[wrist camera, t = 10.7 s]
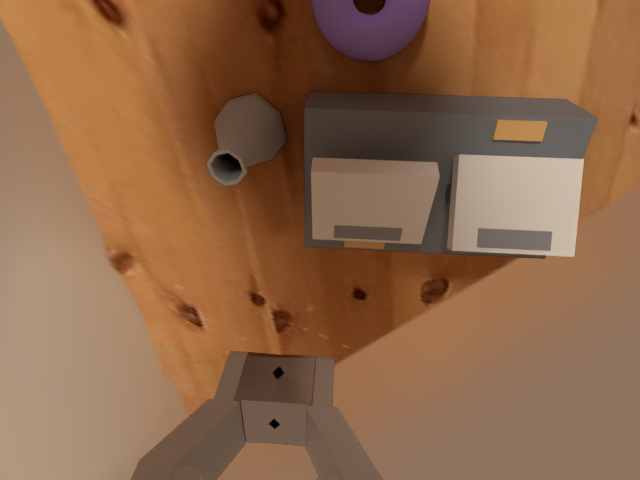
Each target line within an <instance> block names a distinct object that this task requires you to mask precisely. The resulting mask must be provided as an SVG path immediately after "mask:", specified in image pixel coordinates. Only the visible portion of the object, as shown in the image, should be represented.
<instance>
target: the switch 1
mask: <svg viewBox="0 0 640 480" xmlns="http://www.w3.org/2000/svg"><path fill="white" fill-rule="evenodd" d="M439 178H440V175H439V170H438V164H437V162H417V161H392V160H366V159H340V158H315V157H313V159H312V167H311V195H312V237H313V239H321V240H342V241H363V242H383V243H404V244H421V243H422V240H423V236H424V232H425V229H426V225H427V222H428V218H429V214H430V211H431V207H432V203H433V200H434V196H435V193H436V189H437V185H438V182H439Z"/></svg>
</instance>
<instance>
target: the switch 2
mask: <svg viewBox="0 0 640 480" xmlns="http://www.w3.org/2000/svg"><path fill="white" fill-rule="evenodd" d="M583 165H584V159H569V158H542V157H516V156H490V155H464V154H459V155H456V156H454V157H453V170H452V184H451V198H450V211H449V225H448V239H447V249H449V250H452V251H467V252H488V253H508V254H529V255H549V256H571V257H574V253H575V244H576V234H577V224H578V214H579V204H580V194H581V184H582V175H583Z"/></svg>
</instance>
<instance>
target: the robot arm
mask: <svg viewBox="0 0 640 480" xmlns="http://www.w3.org/2000/svg"><path fill="white" fill-rule="evenodd" d="M333 382H334V357H319V356H317V358H316V356H305V355H285V354H283V355H277V354H266V353H255V352H241V351H231V352H230V354H229V355H228V358H227V361H226V364H225V367H224V370H223V373H222V376H221V379H220V382H219V385H218V388H217V391H216V395H215V398H214V399H208V400H207V401H206V402H205V403H204V404H202V405H201V406H200V407H199V408H198V409H197V410H196V411H194V412H193V413H192V414H191V415H190V416H189V417H188V418H187V419H185V420H184V421H183V422H182V423H181V424H180V425H179V426H177V428H175V429H174V430H173V431H172V432H171V433H170V434H168V435H167V436H166V437H165V438H164V439H163V440H162V441H160V442H159V443H158V444H157V445H156V446H155V447H154V448H153V449H151V450H150V451H149V452H148V453H147V454H146V455H145V456H143V457H142V458H141V459H140V460H139V462H138V465H137V467H136V469H135V471H134V473H133V476H132V478H131V480H217V479H218V477H219V476H220V475H221V474H222V473H223V471H224V470H225V469H226V468H227V466H228V465H229V464H230V463H231V461H232V460H233V459H234V458H235V457H236V455H237V454H238V453H239V452H240V450H241V449H242V448H243V447H244V445H245V442H249V443H250V442H251V443H274V444H275V443H276V444H284V445H295V446H304V447H306V450H307V452H308V454H309V456H310V458H311V461H312V463H313V465H314V467H315V469H316V472H317V474H318V476H319V477H318V478H317V479H316V480H383V479H382V477H381V476H380V474H379V472H378V471H377V469H376V468H375V466H374V464H373V463H372V461H371V460H370V458H369V457H368V455H367V453H366V452H365V450H364V449H363V447H362V446H361V444H360V442H359V441H358V439H357V438H356V436H355V435H354V433H353V431H352V430H351V428H350V427H349V425H348V423H347V422H346V420H345V419H344V417H343V415H342V414H341V412H340V411H339V409H338V408H336V407H332V403H333Z"/></svg>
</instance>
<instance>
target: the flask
mask: <svg viewBox="0 0 640 480" xmlns="http://www.w3.org/2000/svg"><path fill="white" fill-rule="evenodd" d="M213 122H214V127H215V131H216V136H217V142H218V150H217V151H215V152H214V153H213V154H212V156H211V157H210V159H209V160H208V161H207V163H206V165H207V168H208V170H209V172H210V175H211V177H212V178H213V179H214V180H216V181H217V182H218V183H220V184H221V185H223V186H224V187H226V186H231V185H236V184H239V183H240V181H241V180H242V179H243V178H244V176H245V175H246V174H247V167H248V166H251V165H254V164H257V163H260V162H264V161H269V160H272V158H273V157H274V156H275V155H276V153H277V152H278V151H279V150H280V149H281V147H282V146H283V145H284V144H285V142H286V141H287V140H288V138H287V135H286V132H285V128H284V125H283V121H282V118H281V114H280V112H279V111H278V110H277V109H276V108H274V107H273V106H272V105H271V104H269V103H268V102H267V101H266V100H264V99H263V98H262V97H261V96H260V95H258V94H257V93H252V94H248V95H244V96H240V97H236V98H232V99H228V101H227V102H226V104H225V105H224V107H223V108H222V110H221V111H220V112H219V114H218V115H217V117H216V118H215V120H214V121H213Z"/></svg>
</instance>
